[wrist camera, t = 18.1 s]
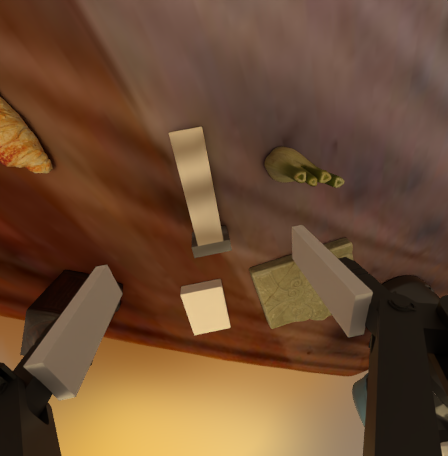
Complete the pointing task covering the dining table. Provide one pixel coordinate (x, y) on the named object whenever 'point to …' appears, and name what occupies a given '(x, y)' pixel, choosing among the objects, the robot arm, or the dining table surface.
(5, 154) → the croissant
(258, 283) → the decorative tile
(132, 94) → the dining table surface
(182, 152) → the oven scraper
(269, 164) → the fennel bulb
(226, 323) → the cream flat block
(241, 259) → the dining table surface
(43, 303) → the dark brown crank device
